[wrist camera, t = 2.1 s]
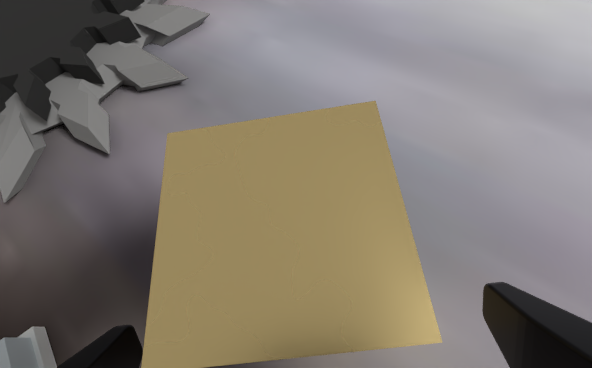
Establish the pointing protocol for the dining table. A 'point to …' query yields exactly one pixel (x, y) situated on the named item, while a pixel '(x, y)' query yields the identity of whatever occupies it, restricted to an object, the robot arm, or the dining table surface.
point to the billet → (283, 244)
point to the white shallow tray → (27, 350)
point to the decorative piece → (75, 69)
